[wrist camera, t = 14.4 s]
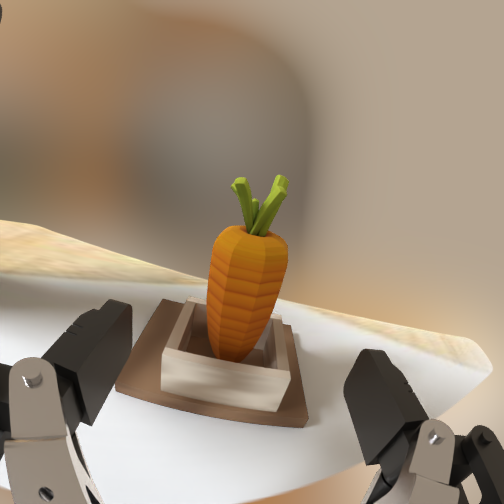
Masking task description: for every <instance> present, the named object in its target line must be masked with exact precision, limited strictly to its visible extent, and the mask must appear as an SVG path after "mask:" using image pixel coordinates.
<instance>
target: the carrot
mask: <svg viewBox="0 0 504 504" xmlns="http://www.w3.org/2000/svg"><path fill="white" fill-rule="evenodd" d="M288 183H289V181H288V180H287V179H286V177H284V176H281V175H278V176H276V178H275V181H274V184H273V186H272V189H271V192H270V195H269V196H268V197H267V199H266V200H265V202H264V203H263V204H262V206H261V208H260V210H259V201H258V200H257V199H256V198H255V199H253V200H252V197H251V190H250V187H249V183H248V181H247V179H246V178H243V177H240V178H236V180H235V183H233V184H232V185H231V188H232V190H233V191H234V192H235V194H236V195H237V197H238V199H239V202H240V204H241V207H242V212H243V216H244V221H245V225H246V226H230V227H228V228H227V229H225V230H224V231H223V232H222V233H221V234H220V235H219V236H218V237H217V239H216V241H215V243H214V246H213V250H212V257H211V264H210V272H209V279H208V290H207V300H206V308H207V326H208V336H209V341H210V344H211V347H212V350H213V353H214V355H215V357H216V359H219V360H224V361H229V362H235V363H240V362H241V361H242V360H244V359H245V358H246V356H247V355H248V354H249V353H250V352H251V351H252V350H253V348H254V347H255V345H256V343H257V342H258V340H259V338H260V337H261V335H262V333H263V331H264V329H265V327H266V325H267V323H268V321H269V319H270V317H271V314H272V311H273V309H274V306H275V303H276V300H277V297H278V294H279V291H280V288H281V285H282V281H283V278H284V275H285V272H286V268H287V263H288V245H287V244H286V242H285V241H284V239H282V238H281V237H280V236H278V235H276V234H274V233H272V232H270V231H268V229H269V227H270V225H271V223H272V221H273V219H274V217H275V215H276V213H277V211H278V209H279V207H280V205H281V203H282V201H283V200H284V199H285V197H286V196H287V192H286V190H287V187H288Z"/></svg>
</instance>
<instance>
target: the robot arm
mask: <svg viewBox="0 0 504 504" xmlns="http://www.w3.org/2000/svg"><path fill="white" fill-rule="evenodd" d="M1 18H2V7H1V5H0V22H1ZM131 349H132V306H131V305H130V304H126V303H123V302H119V301H116V300H112V299H109V300H108V301H107V302H106V303H105V304H104V305H103V306H102V307H101V309H100V310H96V309H92V310H90V311H88V312H86V313H84V314H82V315H80V316H79V318H78V319H77V320H76V321H75V322H74V323H73V325H71V326H70V327H69V328H68V329H67V330H66V332H64V333H63V334H62V335H61V336H60V337H59V339H58V340H57V341H56V342H55V343H54V344H53V345H52V346H51V347H50V348H49V350H48V351H47V352H46V353H45V354H44V355H43V356H42V357H41V358H36V357H30V358H25V359H22V360H20V361H18V362H17V363H15V364H14V365H13V366H9V365H5V364H1V363H0V460H1V458H2V456H3V454H5V461H6V467H7V473H8V478H9V483H10V488H11V492H12V496H13V500H14V504H104V502H103V500H102V498H101V496H100V494H99V492H98V490H97V488H96V486H95V484H94V482H93V479H92V477H91V474H90V471H89V469H88V466H87V463H86V460H85V457H84V454H83V451H82V448H81V445H80V442H79V439H78V435H77V432H76V429H77V427H78V425H79V423H80V422H83V423H85V424H87V425H89V426H92V425H93V423H94V421H95V419H96V417H97V415H98V413H99V411H100V410H101V408H102V406H103V404H104V402H105V400H106V398H107V396H108V394H109V393H110V391H111V389H112V387H113V385H114V383H115V382H116V380H117V378H118V376H119V374H120V373H121V371H122V369H123V367H124V365H125V364H126V362H127V360H128V358H129V356H130V353H131ZM344 397H345V400H346V403H347V406H348V409H349V412H350V415H351V418H352V421H353V424H354V428H355V431H356V434H357V437H358V440H359V443H360V446H361V450H362V453H363V456H364V459H365V463H366V465H375V464H380V466H381V468H380V469H379V470H378V471H377V472H376V474H375V477H374V478H373V481H372V483H371V485H370V487H369V489H368V491H367V493H366V494H365V497H364V498H363V500H362V502H361V504H469V503H468V500H467V497H466V495H465V492H464V490H463V487H462V484H461V482H462V481H463V480H465V479H466V478H467V477H468V476H469V475H470V474H472V473H473V474H474V476H475V478H476V480H477V483H478V486H479V488H480V490H481V493H482V499H481V502H480V503H479V504H504V450H503V448H502V446H501V444H500V442H499V441H498V439H497V437H496V436H495V434H494V433H493V432H492V431H491V430H490V429H489V428H487V427H485V426H482V425H478V426H475V427H474V428H473V429H472V430H471V431H470V432H469V434H468V435H467V436H461V435H454V433H453V432H452V430H451V429H450V427H449V426H448V425H446V424H445V423H443V422H441V421H439V420H435V419H430V420H429V418H428V416H427V414H426V412H425V411H424V409H423V407H422V405H421V404H420V402H419V400H418V398H417V397H416V395H415V393H413V390H412V388H411V386H410V385H408V381H407V380H406V378H405V376H404V375H403V373H402V372H401V371H400V370H399V369H398V368H397V367H395V366H394V365H393V364H392V363H391V361H390V359H389V358H388V356H387V354H386V353H385V352H384V351H383V350H373V349H363V350H362V351H361V352H360V354H359V356H358V358H357V360H356V362H355V364H354V366H353V368H352V370H351V371H350V373H349V375H348V377H347V379H346V381H345V384H344Z"/></svg>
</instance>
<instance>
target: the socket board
mask: <svg viewBox="0 0 504 504" xmlns="http://www.w3.org/2000/svg"><path fill="white" fill-rule="evenodd" d="M115 389H116V391H117V392H120V393H123V394H126V395H129V396H132V397H135V398H138V399H142V400H145V401H148V402H152V403H155V404H159V405H163V406H166V407H170V408H174V409H178V410H182V411H186V412H191V413H195V414H200V415H205V416H210V417H215V418H221V419H227V420H233V421H239V422H246V423H254V424H262V425H272V426H283V427H297V428H303V427H304V425H305V424H306V422H307V420H308V419H309V418H308V413H307V407H306V402H305V396H304V391H303V386H302V380H301V375H300V370H299V365H298V360H297V354H296V349H295V344H294V339H293V334H292V329H291V325H285V324H282V318H281V315H278V314H271V317H270V319H269V321H268V323H267V325H266V327H265V329H264V331H263V333H262V335H261V337H260V338H259V340H258V342H257V343H256V345H255V347H254V348H253V350H252V351H251V352H250V353H249V354H248V355H247V356H246V358H245V359H244V360H242V361H241V362H240V363H235V362H229V361H224V360H219V359H216V357H215V355H214V353H213V350H212V347H211V344H210V341H209V336H208V326H207V308H206V300H203V299H199V298H195V297H190V296H188V298H187V300H186V302H185V304H182V303H178V302H174V301H170V300H166V299H162V301H161V302H160V304H159V306H158V307H157V309H156V311H155V312H154V314H153V315H152V317H151V319H150V320H149V322H148V324H147V325H146V327H145V329H144V330H143V332H142V333H141V335H140V337H139V338H138V340H137V342H136V344H135V345H134V347H133V349H132V350H131V353H130V356H129V358H128V360H127V362H126V364H125V365H124V367H123V369H122V371H121V373H120V374H119V376H118V378H117V380H116V382H115Z"/></svg>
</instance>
